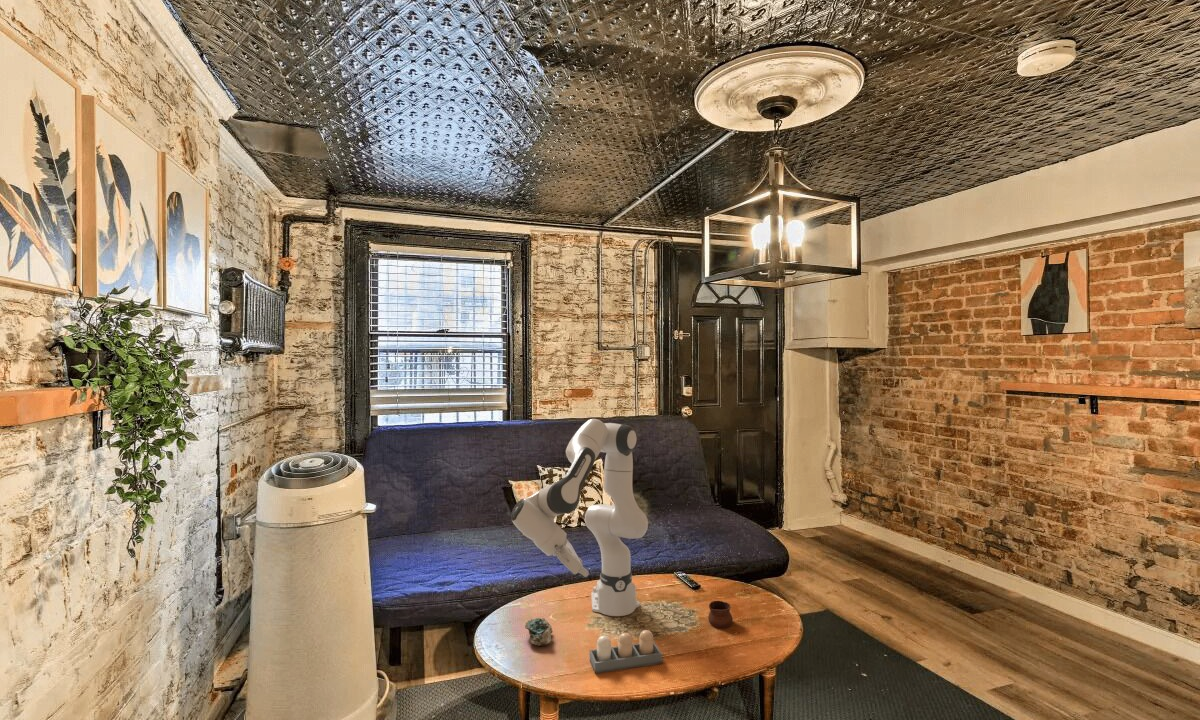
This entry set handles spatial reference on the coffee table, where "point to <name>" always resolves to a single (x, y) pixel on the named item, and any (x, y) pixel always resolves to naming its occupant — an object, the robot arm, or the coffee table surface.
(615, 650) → the carton
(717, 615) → the ceramic pot
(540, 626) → the mineral specimen
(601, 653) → the cream round-topped peg
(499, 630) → the coffee table surface
